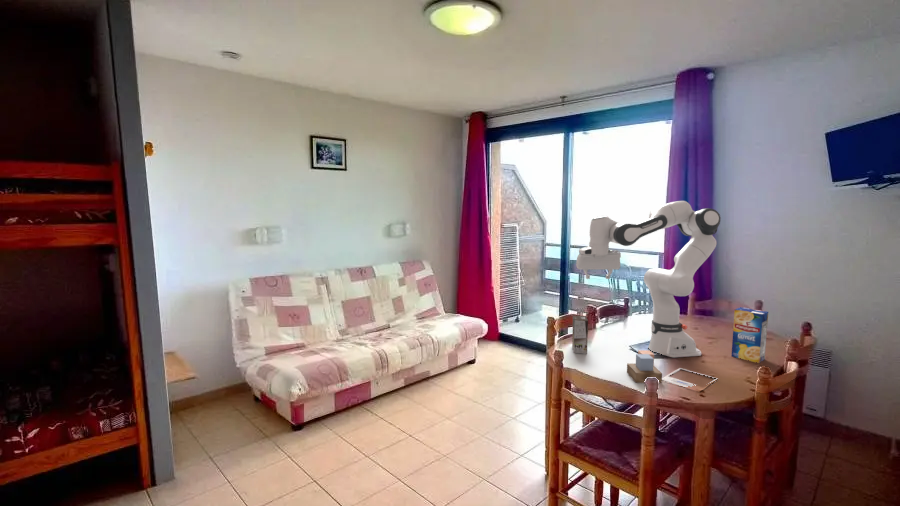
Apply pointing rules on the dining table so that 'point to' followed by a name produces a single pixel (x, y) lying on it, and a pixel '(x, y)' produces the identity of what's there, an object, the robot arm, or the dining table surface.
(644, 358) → the blue cube
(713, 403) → the dining table surface
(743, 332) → the beverage box
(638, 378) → the walnut block
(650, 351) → the terracotta cube
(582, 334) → the coffee box
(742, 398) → the dining table surface
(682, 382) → the photo frame
